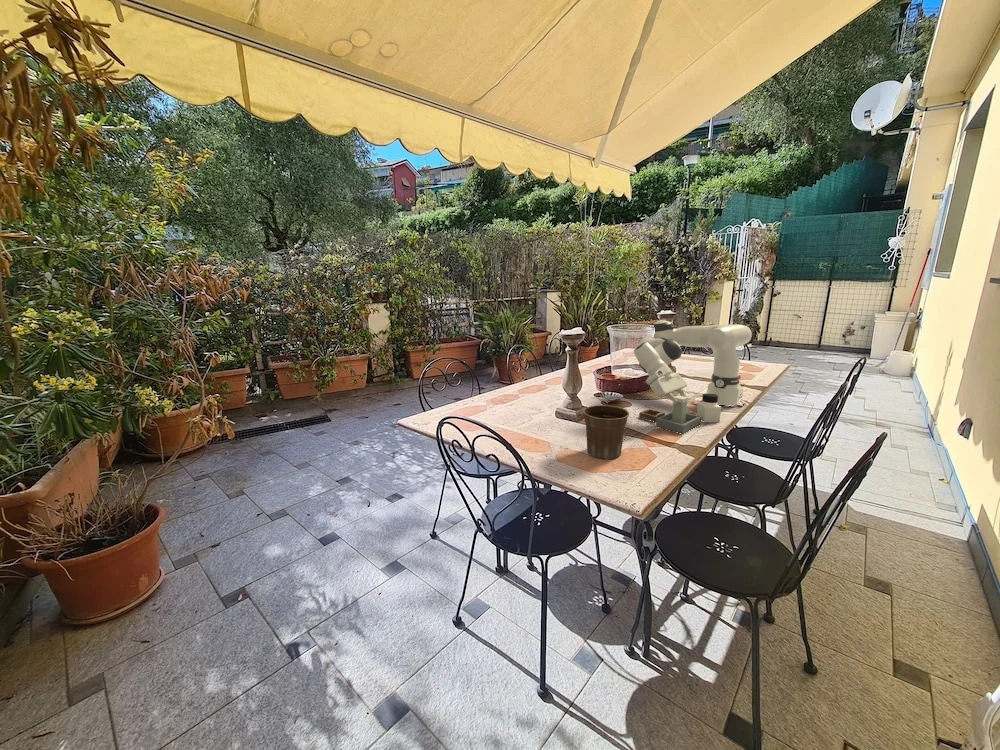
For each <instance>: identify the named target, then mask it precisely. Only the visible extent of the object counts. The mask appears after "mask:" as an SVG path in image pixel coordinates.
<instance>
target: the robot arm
mask: <svg viewBox="0 0 1000 750" xmlns="http://www.w3.org/2000/svg"><path fill="white" fill-rule="evenodd" d="M652 325H654V327H655V335H654V338H653V337H652V336H644V337H643V338H641V339H640V340H639V342H638V346H637V347H635V349H634V350H633V355H634V356H635V358H636V360H637V361H638V365H639V367H640V368H641V369H642V371H643V372H644V373H645V374H647V375H648V377H647V379H646V380H645V382H646V384H647V385H649V387H650V389H651V390H652V391H653V393H654V394H655V395H656V396H657V397H658V398H659V399H660V398H663V397H667V398H668V400H670V401H671V402H672V404H673V403H677V402H678V399H677V398H675V397H676V396H674V395H673V394H674V393H676V392H677V393H678V394H679V396H683V397H688V396H687V395H686V393H685V389H684V388H686V387H687V386H688V384H687V382H686V380H684V378H683V377H682V376H681V375H680V374H679V373H677V372H676V371H673V370H672V369H671V368H670V366H669V365H670V364H672V363H673V362H674V361H676V360H678V359H680V358H681V357H682V353H683V350H682V348H681V347H682V346H683V347H689V348H711V349H712V353H713V360H714V361H713V371H712V374H711V381H710V382H709V383H708V384H707V388H706V389H707V391H706V393H714V394H716V395H718V402H717V404H718V405H741V404H739V401H740V400H741V398H742V397H744V388H743V386H741V384H740V380H741V377H742V375H739V374H740V373H739V372H740V365H741V359H739V358H738V355H737V349H736V348H739V347H742V346H744V345H746V344H748V342H750V341H751V339H752V336H753V334H752V333H753V332H752V330H751V328H750V327H748V326H747V325H745V324H744V325H743V324H736V323H734V324H732V323H731V324H715V325H713V324H712V325H688V326H682V327H678V328H676V327H677V326H676V325H677V324H673V322H671V321H669V320H664V319H660V320H657V321H655V322H652V324H651V326H652Z"/></svg>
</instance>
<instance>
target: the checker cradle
mask: <svg viewBox="0 0 1000 750" xmlns="http://www.w3.org/2000/svg"><path fill="white" fill-rule="evenodd" d="M665 414H666V412H662V411H660V410H655V409H652V408H647V409H645V410H643V411H641V412H639V415H638V418H639V419H642V418H643V420H645V419H647V420H646V421H649V420H651V421H650V422H653V421H654V422H653V423H656V418H658V417H661V416H663V415H665Z"/></svg>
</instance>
